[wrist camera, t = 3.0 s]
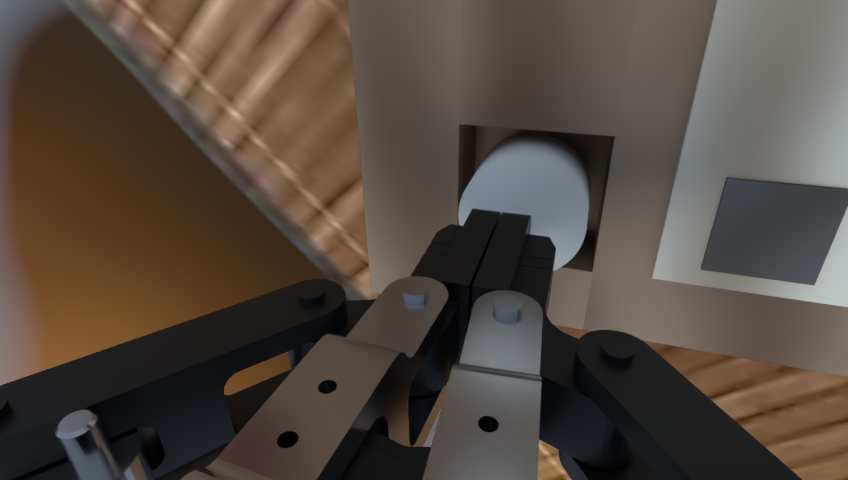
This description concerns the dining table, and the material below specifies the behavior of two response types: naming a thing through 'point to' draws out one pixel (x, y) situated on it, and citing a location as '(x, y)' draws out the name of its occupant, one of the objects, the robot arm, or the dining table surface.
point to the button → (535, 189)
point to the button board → (631, 155)
